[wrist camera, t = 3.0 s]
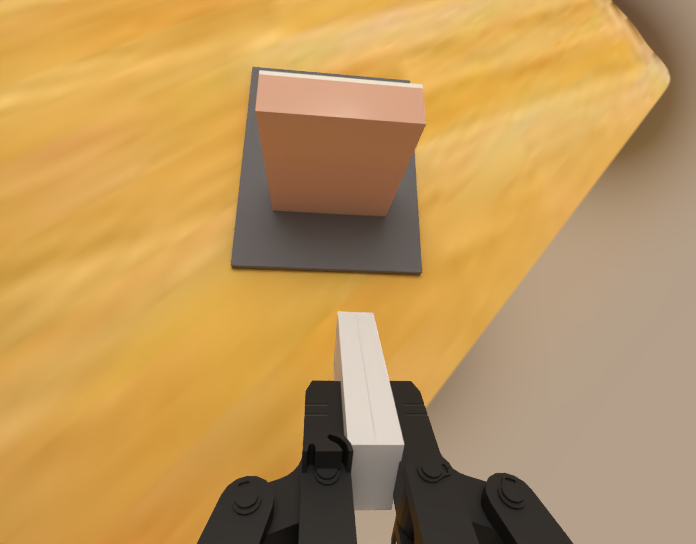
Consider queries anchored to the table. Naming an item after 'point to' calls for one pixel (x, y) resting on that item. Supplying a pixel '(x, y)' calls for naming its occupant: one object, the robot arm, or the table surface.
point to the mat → (320, 220)
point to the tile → (336, 141)
